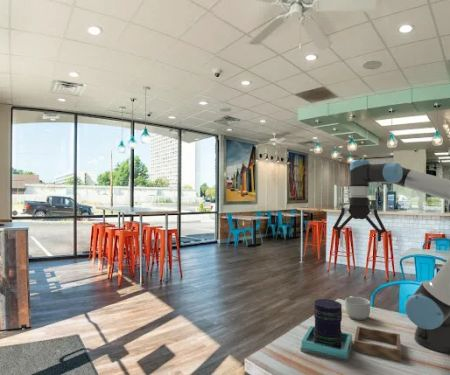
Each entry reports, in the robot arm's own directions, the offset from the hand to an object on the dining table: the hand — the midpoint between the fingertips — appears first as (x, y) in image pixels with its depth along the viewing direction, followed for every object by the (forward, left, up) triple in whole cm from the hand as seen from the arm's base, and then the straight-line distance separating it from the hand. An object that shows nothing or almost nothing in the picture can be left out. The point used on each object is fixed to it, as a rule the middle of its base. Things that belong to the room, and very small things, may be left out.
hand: (358, 247), depth 131 cm
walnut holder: (-7, +11, -35) cm, 37 cm away
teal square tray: (+9, +20, -35) cm, 41 cm away
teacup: (+2, -19, -35) cm, 40 cm away
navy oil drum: (+9, +20, -34) cm, 40 cm away
